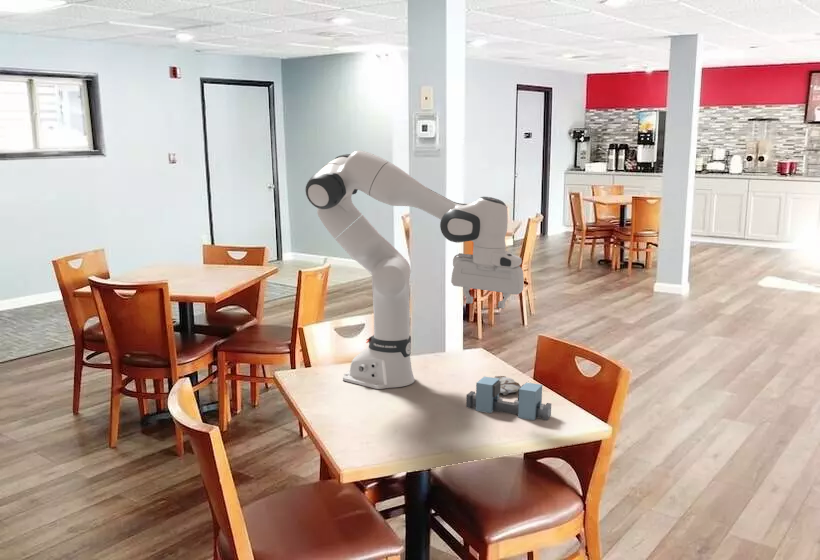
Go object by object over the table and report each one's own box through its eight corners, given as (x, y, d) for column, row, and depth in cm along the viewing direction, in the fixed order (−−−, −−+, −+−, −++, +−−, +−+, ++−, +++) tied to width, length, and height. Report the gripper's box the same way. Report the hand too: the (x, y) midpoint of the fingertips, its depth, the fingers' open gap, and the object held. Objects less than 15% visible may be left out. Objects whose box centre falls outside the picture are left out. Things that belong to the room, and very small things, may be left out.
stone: (525, 396, 220) (525, 385, 220) (495, 398, 218) (496, 387, 218) (511, 384, 232) (511, 373, 231) (483, 385, 230) (483, 375, 229)
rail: (466, 407, 210) (466, 394, 210) (470, 403, 214) (471, 391, 213) (547, 420, 201) (547, 407, 200) (550, 416, 204) (551, 403, 203)
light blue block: (516, 417, 203) (517, 388, 202) (523, 409, 209) (524, 382, 207) (534, 420, 201) (535, 391, 199) (541, 412, 206) (542, 384, 205)
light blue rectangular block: (475, 410, 208) (476, 382, 206) (483, 403, 213) (484, 376, 212) (493, 413, 206) (494, 385, 204) (500, 406, 211) (501, 378, 210)
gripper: (449, 253, 208) (446, 302, 210) (520, 262, 200) (516, 312, 202) (457, 251, 213) (454, 298, 216) (527, 259, 205) (523, 308, 208)
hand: (485, 305), depth 209 cm, fingers open, 8 cm apart
